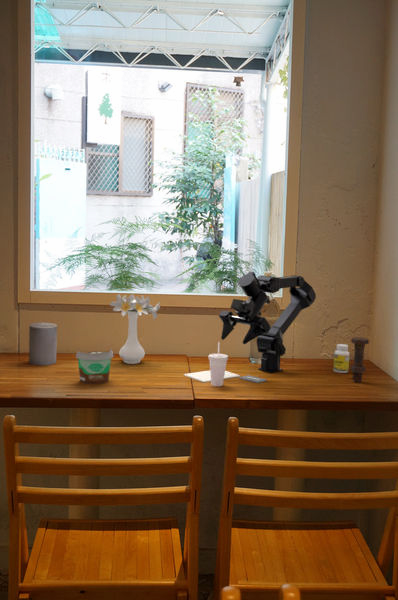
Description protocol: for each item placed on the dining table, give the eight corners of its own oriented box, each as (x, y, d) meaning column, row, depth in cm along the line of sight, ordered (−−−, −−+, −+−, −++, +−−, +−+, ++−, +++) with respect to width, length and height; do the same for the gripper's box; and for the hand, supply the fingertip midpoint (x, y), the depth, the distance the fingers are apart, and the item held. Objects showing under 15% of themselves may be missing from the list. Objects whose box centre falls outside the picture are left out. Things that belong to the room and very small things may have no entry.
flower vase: (159, 366, 237) (161, 297, 234) (107, 365, 236) (108, 296, 232) (158, 358, 250) (160, 293, 247) (109, 357, 248) (111, 291, 245)
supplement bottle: (330, 370, 240) (331, 344, 239) (339, 369, 244) (341, 343, 243) (342, 373, 236) (344, 347, 235) (351, 371, 240) (353, 345, 239)
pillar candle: (22, 362, 235) (23, 321, 233) (43, 358, 243) (44, 318, 241) (41, 367, 230) (42, 324, 228) (62, 362, 238) (63, 321, 236)
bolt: (366, 380, 227) (369, 338, 225) (365, 384, 222) (368, 340, 221) (349, 378, 229) (352, 336, 227) (347, 382, 224) (350, 338, 222)
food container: (81, 386, 206) (81, 354, 205) (75, 381, 212) (75, 351, 210) (118, 382, 212) (119, 352, 211) (111, 378, 217) (112, 348, 216)
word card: (248, 376, 227) (248, 374, 227) (266, 380, 222) (267, 379, 222) (239, 378, 224) (239, 377, 224) (258, 383, 218) (258, 381, 218)
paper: (219, 369, 235) (219, 368, 235) (240, 376, 227) (240, 375, 226) (183, 375, 225) (183, 374, 225) (203, 382, 217) (203, 381, 217)
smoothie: (227, 382, 217) (229, 341, 216) (226, 387, 211) (228, 344, 209) (208, 381, 218) (209, 340, 216) (206, 386, 212) (208, 343, 210)
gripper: (223, 287, 227) (200, 322, 220) (266, 293, 214) (244, 330, 208) (236, 307, 234) (215, 342, 227) (279, 314, 221) (258, 351, 215)
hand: (232, 341), depth 219 cm, fingers open, 9 cm apart
